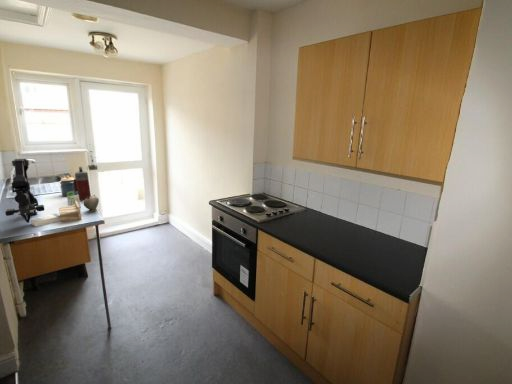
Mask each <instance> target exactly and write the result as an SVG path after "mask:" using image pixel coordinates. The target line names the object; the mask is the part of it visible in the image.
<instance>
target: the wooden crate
mask: <svg viewBox="0 0 512 384" xmlns="http://www.w3.org/2000/svg"><path fill="white" fill-rule="evenodd" d="M80 206H81V205H80ZM80 206H79V204H78V202H77V201H75V205H73V206H68V205H67V206H59V207H58V211H59V215H60V217H61V221H60V222H61V223H62V222H64V223H65V222H68V221H75V220H82V214H81V208H80Z"/></svg>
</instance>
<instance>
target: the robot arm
mask: <svg viewBox="0 0 512 384" xmlns="http://www.w3.org/2000/svg"><path fill="white" fill-rule="evenodd" d="M11 165H12V167H14V171H15V173H14V174H15V175H14V177H13V178H12V182H11V189H12V193H15V196H14V201H15V202H16V203H18V209H15V208H8V209H6V210H5V216H6V217H10V216H14V214H17V213H18V216H21V217H22V218H24V219H23V220H25V222H26V224H29V223H30V221H31V217H32V216H37V215H38V212H43V211H45V205H44V204H39V201H38V198H36V197H35V195H34V194H33V193H32V192H31V185H30V182H29V178H28V177H29V176H28V169H29V167H30V161H29V159H27V158H14V160H12V161H11Z"/></svg>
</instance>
